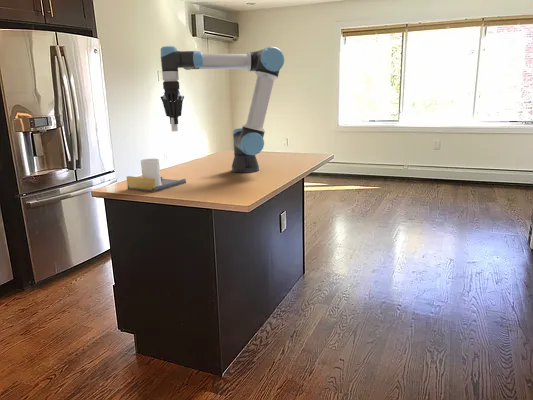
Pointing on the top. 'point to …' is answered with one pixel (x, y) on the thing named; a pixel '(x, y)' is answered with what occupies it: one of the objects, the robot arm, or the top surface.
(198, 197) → the top surface
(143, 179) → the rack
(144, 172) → the mug
